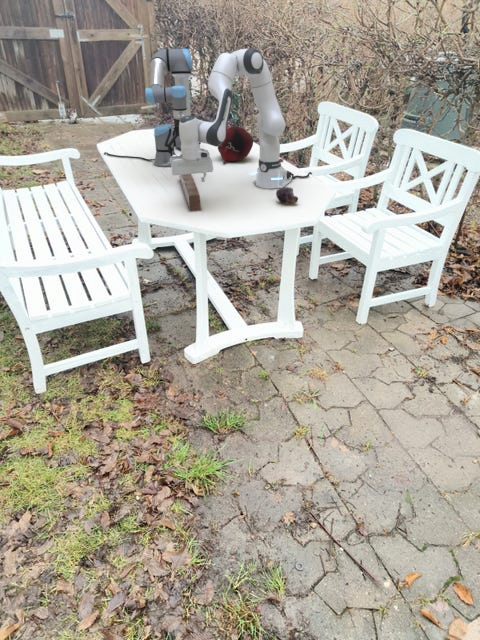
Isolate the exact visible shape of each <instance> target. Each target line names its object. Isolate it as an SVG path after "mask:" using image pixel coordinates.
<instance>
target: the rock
mask: <svg viewBox="0 0 480 640" xmlns="http://www.w3.org/2000/svg"><path fill="white" fill-rule="evenodd" d="M275 192H276V193H275V195H276V198H277V200H278V202H279V203H280V204H283V205H289V204H292V205H294V204H296V203H298V201H299V197H298V196H297V195H295V194H294V188H292V187H291V186H284V187H283V188H278V189H276V191H275Z"/></svg>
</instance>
